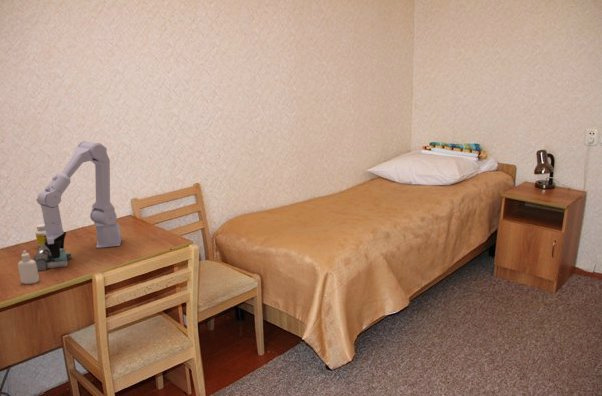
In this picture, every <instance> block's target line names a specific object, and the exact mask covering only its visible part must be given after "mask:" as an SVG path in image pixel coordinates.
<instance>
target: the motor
mask: <svg viewBox="0 0 602 396" xmlns="http://www.w3.org/2000/svg"><path fill="white" fill-rule="evenodd" d="M66 256H67V260H63V261H54V262H53V257H52V254H51V252H50V250H49V249H48V248H47V247H46V246H45V244H43V245H42V246H41V247H40V249H39V248H38V250H37V251H36V253H35V254H34V256H33V259H32V260H34V261H35V262H36V265H37V270H38V272H40V271H41V272H42V271H47V270H48V269H52V268H61V267H68V266H69V262H68V260H69V259H72V258H73V255H72V252H66Z"/></svg>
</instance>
